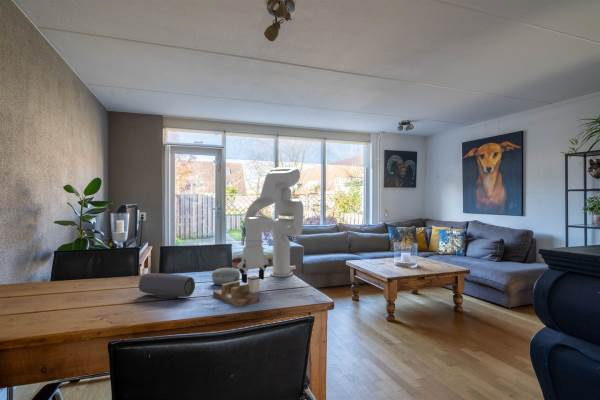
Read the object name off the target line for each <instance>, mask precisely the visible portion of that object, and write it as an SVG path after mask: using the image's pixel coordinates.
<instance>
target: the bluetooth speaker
mask: <svg viewBox="0 0 600 400" xmlns="http://www.w3.org/2000/svg"><path fill="white" fill-rule="evenodd" d="M195 288H196V283H195V279H194V277H192V276H187V275H181V274H180V275H179V274H173V273H171V274H170V273H158V272H157V273H155V272H154V273H153V272H150V273H149V272H148V273H144V274H142V276H141V277H140V279H139V281H138V289H139V291H140V292H141V293H145V294H149V295H155V297H156V298H160V299H170V300H171V299H172V300H174V299H177V298H187V297H188V298H189V297H190V296H192V295H193V293H194V291H195Z"/></svg>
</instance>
